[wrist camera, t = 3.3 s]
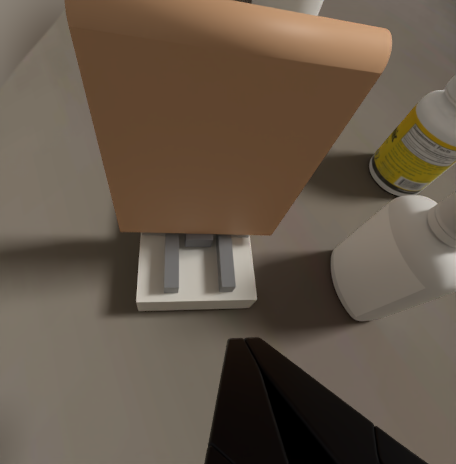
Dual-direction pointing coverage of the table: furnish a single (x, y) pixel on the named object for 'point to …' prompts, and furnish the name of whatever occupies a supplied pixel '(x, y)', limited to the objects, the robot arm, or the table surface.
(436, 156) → the supplement bottle
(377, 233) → the eye dropper bottle
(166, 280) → the white base with rails
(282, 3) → the cylinder with rectangular tab
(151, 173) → the fader paddle
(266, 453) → the robot arm
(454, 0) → the table surface
